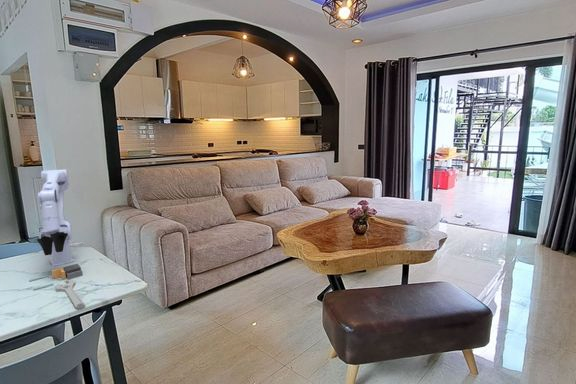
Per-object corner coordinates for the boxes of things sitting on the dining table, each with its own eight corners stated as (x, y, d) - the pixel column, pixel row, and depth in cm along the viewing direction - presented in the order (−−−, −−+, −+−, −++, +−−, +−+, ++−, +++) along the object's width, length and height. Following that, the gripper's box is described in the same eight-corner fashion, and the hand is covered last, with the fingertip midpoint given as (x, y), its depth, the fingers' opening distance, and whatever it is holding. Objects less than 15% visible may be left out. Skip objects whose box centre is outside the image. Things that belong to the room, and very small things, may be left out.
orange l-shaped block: (52, 277, 132) (51, 270, 131) (63, 274, 134) (62, 267, 133) (55, 281, 128) (54, 274, 128) (66, 278, 131) (64, 271, 130)
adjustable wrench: (86, 309, 110) (85, 304, 109) (63, 316, 106) (62, 311, 105) (74, 282, 129) (73, 278, 128) (54, 287, 125) (53, 283, 124)
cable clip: (63, 273, 136) (62, 268, 135) (77, 269, 139) (76, 264, 139) (68, 279, 130) (67, 274, 129) (82, 275, 133) (82, 270, 133)
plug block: (64, 275, 134) (63, 267, 134) (78, 271, 138) (77, 263, 137) (67, 279, 131) (65, 270, 130) (81, 275, 134) (80, 267, 134)
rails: (29, 281, 129) (29, 280, 129) (47, 276, 133) (47, 275, 133) (33, 291, 121) (33, 289, 121) (53, 285, 125) (53, 284, 125)
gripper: (29, 223, 132) (32, 257, 131) (50, 215, 126) (53, 251, 124) (48, 222, 139) (51, 255, 137) (69, 215, 133) (72, 249, 131)
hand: (53, 253), depth 131 cm, fingers open, 7 cm apart
